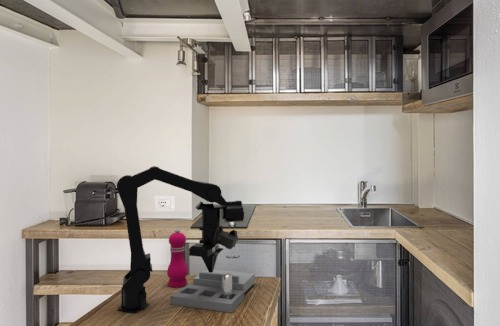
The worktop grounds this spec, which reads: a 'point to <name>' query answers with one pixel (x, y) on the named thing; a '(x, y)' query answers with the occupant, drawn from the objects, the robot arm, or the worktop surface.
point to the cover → (215, 279)
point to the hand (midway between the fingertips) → (210, 272)
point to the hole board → (206, 298)
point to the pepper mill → (177, 260)
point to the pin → (227, 286)
